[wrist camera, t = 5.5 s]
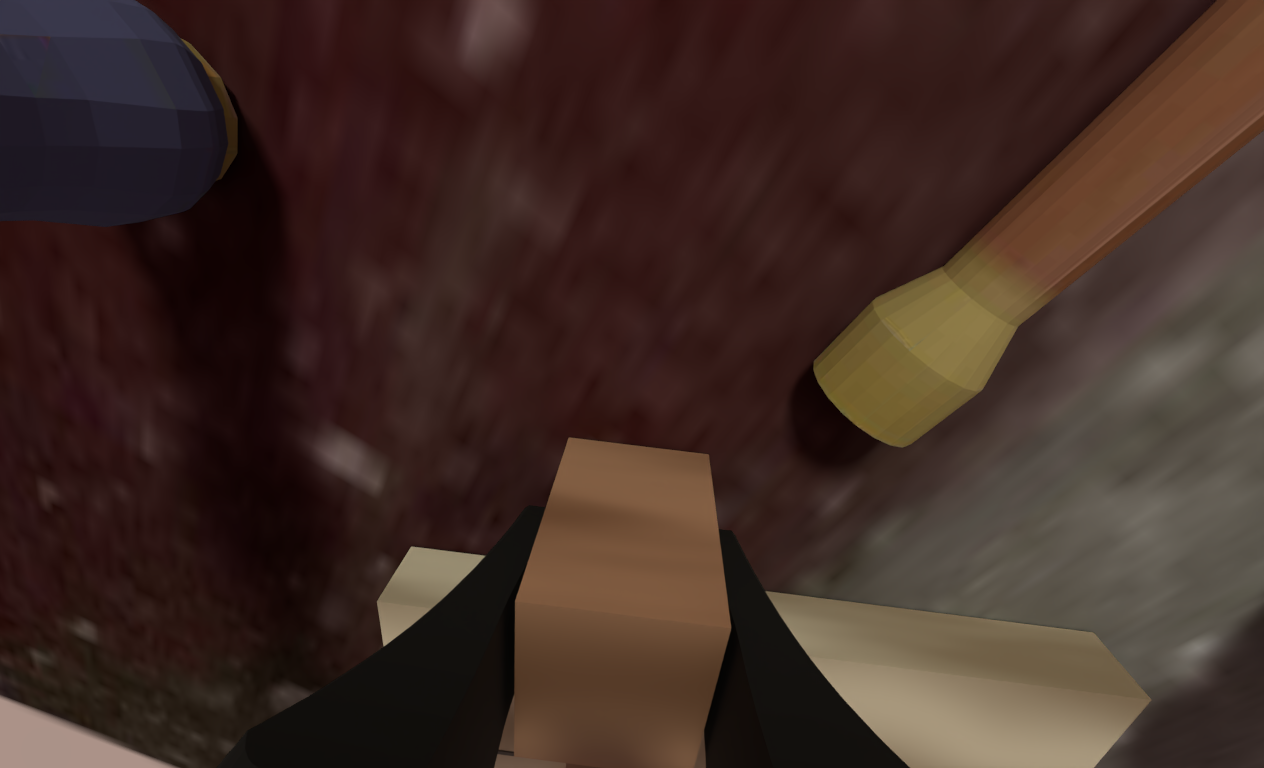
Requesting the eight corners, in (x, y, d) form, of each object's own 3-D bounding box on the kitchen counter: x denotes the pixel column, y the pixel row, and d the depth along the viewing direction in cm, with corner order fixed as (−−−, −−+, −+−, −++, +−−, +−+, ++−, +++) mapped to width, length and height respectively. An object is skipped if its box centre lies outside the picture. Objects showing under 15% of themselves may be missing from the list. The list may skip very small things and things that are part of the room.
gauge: (654, 726, 18) (650, 931, 14) (552, 713, 18) (513, 913, 14) (708, 454, 13) (731, 628, 9) (568, 437, 13) (514, 600, 9)
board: (961, 816, 19) (992, 887, 18) (432, 748, 20) (407, 811, 18) (1093, 632, 15) (1152, 701, 13) (411, 546, 15) (376, 602, 13)
